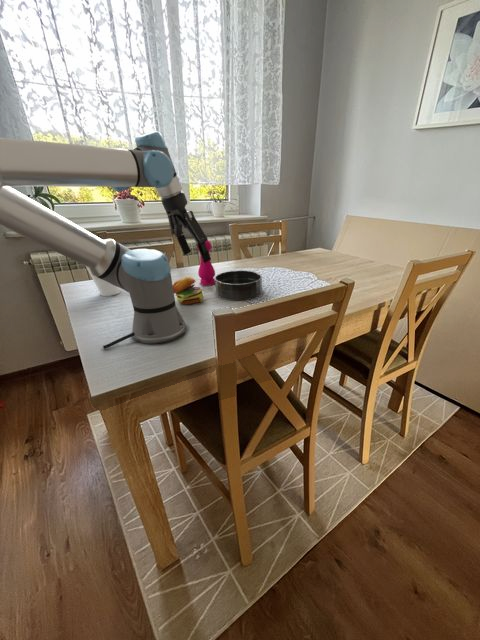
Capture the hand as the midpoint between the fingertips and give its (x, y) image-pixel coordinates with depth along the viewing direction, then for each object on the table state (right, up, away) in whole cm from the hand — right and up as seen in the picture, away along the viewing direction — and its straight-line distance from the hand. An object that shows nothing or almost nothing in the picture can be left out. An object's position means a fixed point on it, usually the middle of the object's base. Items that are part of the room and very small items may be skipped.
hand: (197, 257), depth 104 cm
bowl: (+14, -10, +14) cm, 22 cm away
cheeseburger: (-5, -15, +7) cm, 17 cm away
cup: (-39, -10, +15) cm, 43 cm away
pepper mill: (-1, -4, +25) cm, 25 cm away
